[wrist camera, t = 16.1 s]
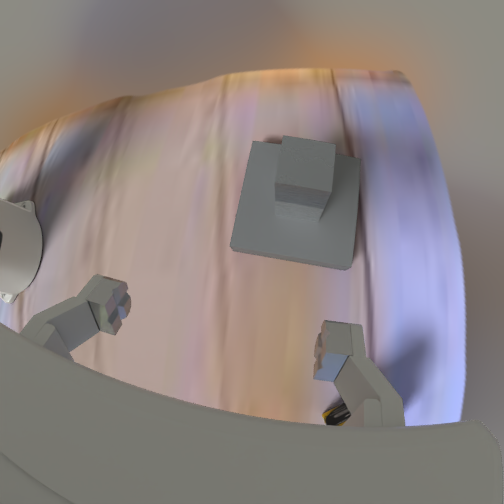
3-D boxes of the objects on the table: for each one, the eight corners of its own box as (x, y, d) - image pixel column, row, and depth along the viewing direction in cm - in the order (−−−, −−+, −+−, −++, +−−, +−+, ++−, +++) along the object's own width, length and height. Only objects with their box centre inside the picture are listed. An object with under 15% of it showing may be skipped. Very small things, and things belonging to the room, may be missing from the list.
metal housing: (275, 214, 34) (274, 182, 25) (281, 176, 35) (283, 135, 26) (317, 222, 33) (331, 191, 24) (322, 183, 34) (335, 144, 25)
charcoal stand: (233, 251, 36) (229, 245, 34) (254, 152, 39) (252, 140, 36) (345, 270, 35) (351, 267, 32) (355, 169, 37) (360, 158, 34)
